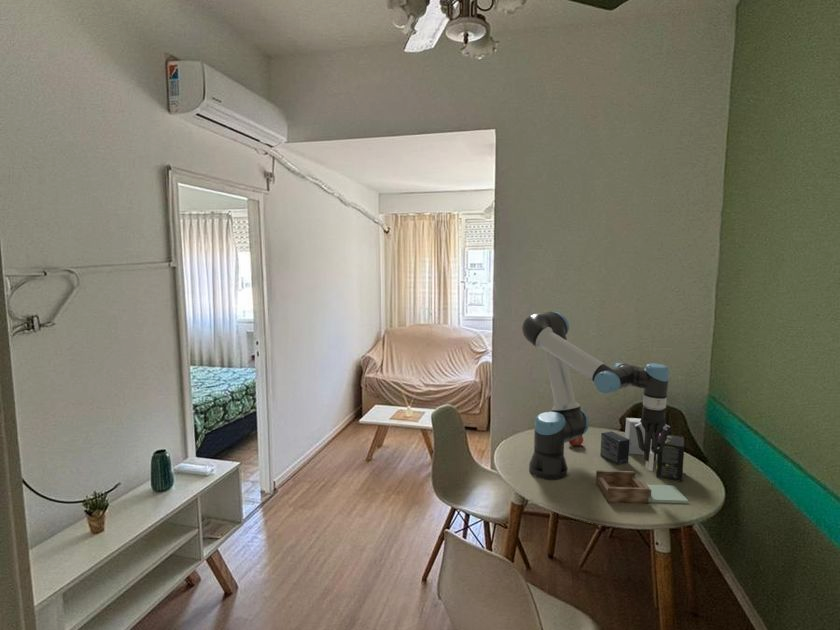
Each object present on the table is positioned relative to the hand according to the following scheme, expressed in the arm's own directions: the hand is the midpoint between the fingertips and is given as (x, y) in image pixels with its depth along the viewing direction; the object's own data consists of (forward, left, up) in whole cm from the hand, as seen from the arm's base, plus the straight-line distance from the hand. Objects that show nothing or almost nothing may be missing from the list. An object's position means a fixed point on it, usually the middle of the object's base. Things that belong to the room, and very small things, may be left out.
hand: (649, 468), depth 175 cm
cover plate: (+5, 0, -10) cm, 11 cm away
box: (-10, 0, -10) cm, 14 cm away
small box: (-2, +30, -10) cm, 31 cm away
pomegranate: (-15, +45, -10) cm, 48 cm away
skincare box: (+10, +38, -10) cm, 40 cm away
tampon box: (+15, +17, -10) cm, 25 cm away
